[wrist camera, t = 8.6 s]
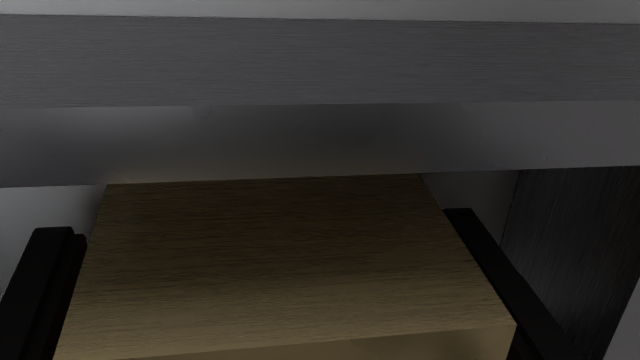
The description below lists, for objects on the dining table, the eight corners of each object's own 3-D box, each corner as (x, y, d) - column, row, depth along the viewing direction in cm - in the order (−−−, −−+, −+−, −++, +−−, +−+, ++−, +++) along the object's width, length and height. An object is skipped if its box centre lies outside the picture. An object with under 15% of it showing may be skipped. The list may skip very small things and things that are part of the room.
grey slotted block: (849, 27, 12) (1113, 99, 9) (690, 326, 17) (820, 454, 13) (-594, 5, 8) (-1259, 133, 4) (-285, 418, 12) (-484, 647, 9)
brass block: (380, 115, 11) (525, 337, 6) (357, 298, 14) (447, 568, 9) (126, 118, 11) (45, 381, 5) (151, 313, 13) (112, 624, 8)
